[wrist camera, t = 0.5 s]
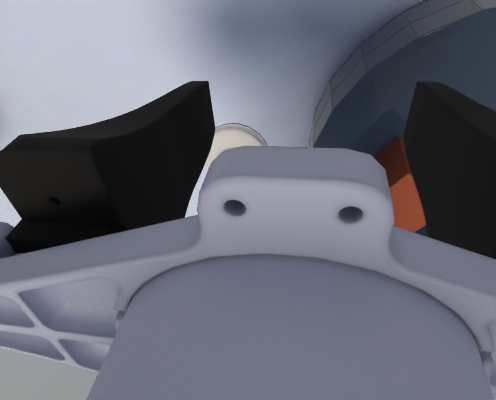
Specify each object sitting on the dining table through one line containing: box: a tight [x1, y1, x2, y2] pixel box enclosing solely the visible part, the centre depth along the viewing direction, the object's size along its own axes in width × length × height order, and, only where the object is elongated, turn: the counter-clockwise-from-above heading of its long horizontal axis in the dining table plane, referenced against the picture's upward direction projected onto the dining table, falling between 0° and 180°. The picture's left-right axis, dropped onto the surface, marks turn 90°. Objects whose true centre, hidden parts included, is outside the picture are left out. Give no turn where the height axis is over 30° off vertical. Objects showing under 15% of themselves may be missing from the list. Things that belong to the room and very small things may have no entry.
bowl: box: [309, 0, 496, 237], centre depth 22 cm, size 19×19×4 cm
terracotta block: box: [374, 137, 426, 232], centre depth 24 cm, size 4×4×4 cm
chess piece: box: [206, 124, 267, 167], centre depth 23 cm, size 5×5×10 cm
